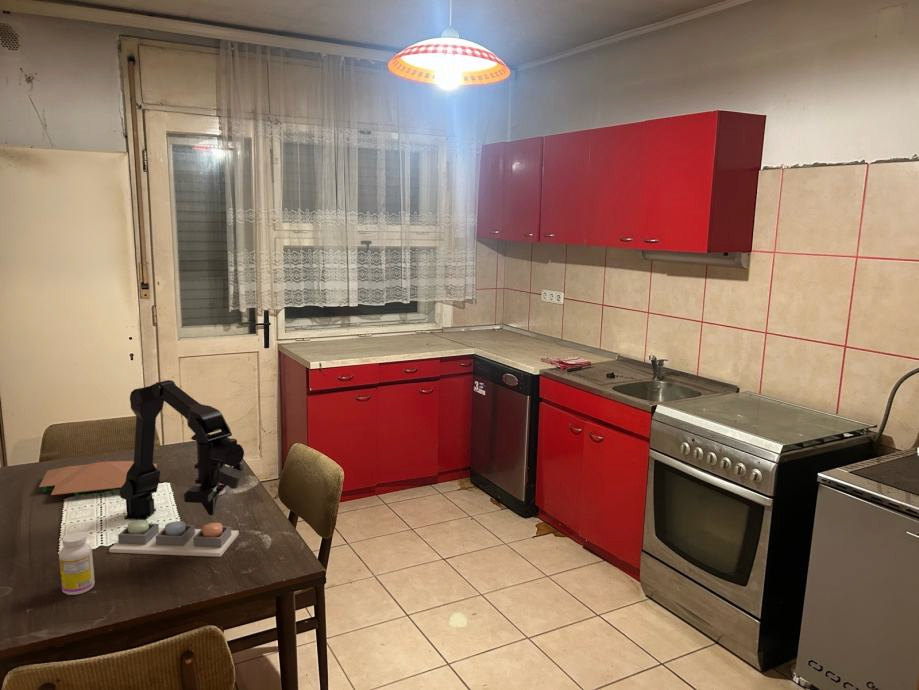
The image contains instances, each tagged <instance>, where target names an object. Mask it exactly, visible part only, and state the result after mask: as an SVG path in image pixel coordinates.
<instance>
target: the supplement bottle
mask: <svg viewBox="0 0 919 690" xmlns="http://www.w3.org/2000/svg"><path fill="white" fill-rule="evenodd" d="M61 541H62V545H63V547H62V548H61V549H60V551H59V552H58V560H59V570H60V571H59V572H60V581H61V590H62V593H64V594H66V595H69V596H76V595H80V594H84V593H87V592H89V591H90V590H91V589H92V588H93V587H94V586H95V583H96V582H95V570H94V569H95V568H94V559H93V549H92V548H93V547H92V546H91V544H90V543H88V542H87V535H86V534H85V533H84V532H73V533H70V534H66V535H65V536H64V537H63V538H62V540H61Z"/></svg>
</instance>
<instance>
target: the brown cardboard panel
mask: <svg viewBox="0 0 919 690" xmlns="http://www.w3.org/2000/svg"><path fill="white" fill-rule="evenodd" d="M133 463H134V460H125V461H124V460H119V461H118V460H117V461H116V460H115V461H99V462H94V463H93V462H92V463H87V464H80V465H69V466H64V467H60V468H59V467H58V468H53V469H48V470H47V472H46V473H45V475H44V477H43V478H42V481H41V482H40V484H39V485H38V487H39V488H42V494H43V495H44V494H45V493H44V492H47V491H49V492H50V491H51V493H50V495H51V496H57V495H65V494H74V498H75V500H77V499H78V497H80V496H81V497H83V493H84V494H86V493H87V496H89V495H90V496H91V494H95V495H101V494H102V495H104V494H105V496H107V495H106V494H107V493H108V496H110V491H104V492H103V490H111V496H112V495H113V496H114V493H115V495H117V494H116V492H117V491H116V490H115V489H121V487H122V486H123V485H124V483H125V481H126V476H127V472H128V470H129V469H130V468H131V466H132V465H133ZM153 465H154V466H155V467H156V469H157V468H158V463H153ZM50 487H51V488H50ZM53 487H54V488H53ZM94 491H96V493H94ZM98 491H99V492H98ZM101 491H102V492H101ZM85 492H86V493H85ZM88 492H89V493H88ZM91 492H93V493H91ZM97 492H98V493H97ZM80 493H81V495H80ZM118 496H120V493H118Z"/></svg>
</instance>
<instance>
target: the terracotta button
mask: <svg viewBox="0 0 919 690" xmlns="http://www.w3.org/2000/svg"><path fill="white" fill-rule="evenodd" d="M222 526H223V523H220V522H210V523H206V524H204V525H203V526H202V528H201V529H202V532H203V537H220V536H221V535H222V533H223V528H222Z"/></svg>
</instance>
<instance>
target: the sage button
mask: <svg viewBox="0 0 919 690" xmlns="http://www.w3.org/2000/svg"><path fill="white" fill-rule="evenodd" d="M127 527H128V534H145V533H146V532H147V531H148V530H149V521H148V520H147V519H145V520H140V519H135V520H134V521H131V522H129V523H128V524H127Z"/></svg>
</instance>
